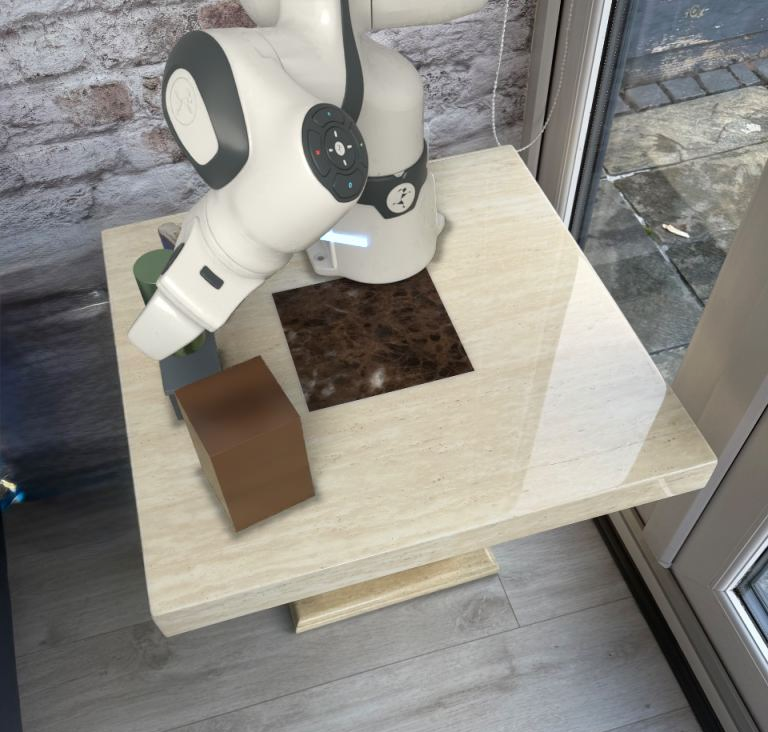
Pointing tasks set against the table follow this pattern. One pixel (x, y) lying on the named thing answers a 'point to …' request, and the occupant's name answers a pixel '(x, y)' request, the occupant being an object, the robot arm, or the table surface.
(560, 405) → the table surface
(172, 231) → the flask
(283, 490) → the block
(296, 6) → the robot arm
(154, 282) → the tin
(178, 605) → the table surface
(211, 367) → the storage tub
